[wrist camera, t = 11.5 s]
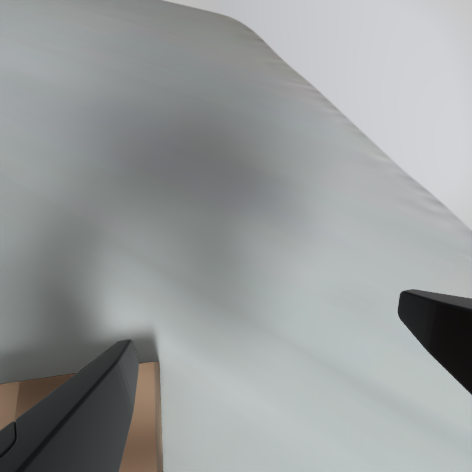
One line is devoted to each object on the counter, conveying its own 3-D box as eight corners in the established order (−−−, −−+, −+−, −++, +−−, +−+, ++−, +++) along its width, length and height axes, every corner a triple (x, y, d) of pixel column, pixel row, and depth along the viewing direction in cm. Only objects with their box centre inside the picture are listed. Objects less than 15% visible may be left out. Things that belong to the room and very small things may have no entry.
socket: (165, 561, 17) (159, 585, 16) (-37, 607, 16) (-71, 639, 14) (159, 362, 22) (153, 361, 20) (-1, 385, 21) (-23, 387, 19)
